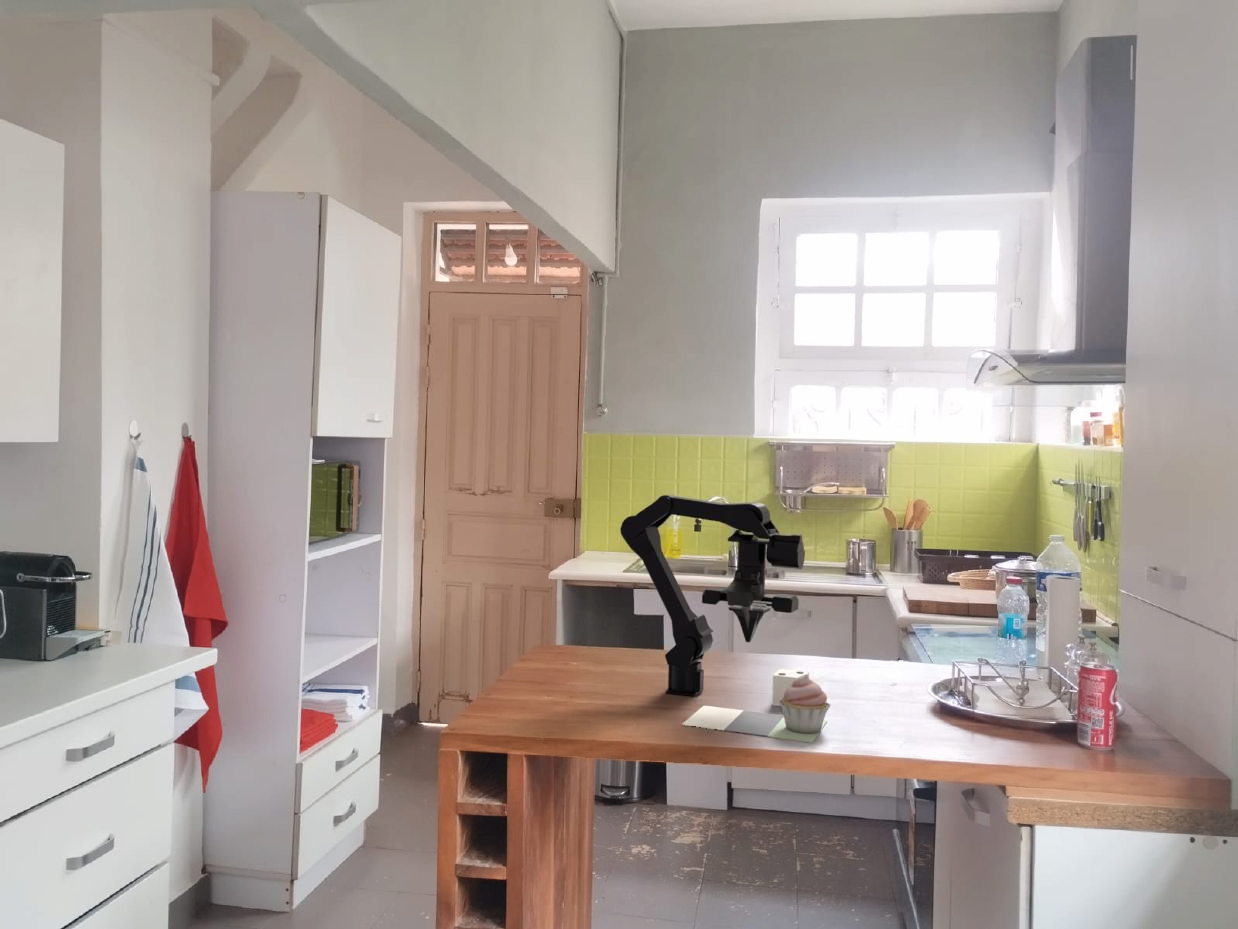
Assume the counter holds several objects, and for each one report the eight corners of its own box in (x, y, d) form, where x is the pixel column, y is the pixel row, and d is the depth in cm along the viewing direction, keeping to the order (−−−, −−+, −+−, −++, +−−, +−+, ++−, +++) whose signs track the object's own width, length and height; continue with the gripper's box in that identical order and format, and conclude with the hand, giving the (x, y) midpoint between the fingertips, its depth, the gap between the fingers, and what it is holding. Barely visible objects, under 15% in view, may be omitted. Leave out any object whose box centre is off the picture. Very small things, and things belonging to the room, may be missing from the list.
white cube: (772, 705, 194) (773, 674, 194) (778, 698, 200) (779, 668, 199) (802, 709, 192) (803, 678, 192) (808, 701, 197) (809, 671, 197)
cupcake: (831, 738, 172) (832, 682, 172) (777, 734, 174) (779, 678, 174) (829, 723, 181) (830, 670, 181) (778, 720, 183) (779, 667, 183)
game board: (681, 725, 179) (681, 724, 179) (704, 706, 192) (704, 705, 192) (812, 743, 170) (812, 741, 170) (826, 722, 183) (826, 721, 183)
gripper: (693, 565, 193) (690, 643, 194) (785, 573, 185) (782, 655, 186) (712, 559, 203) (710, 634, 204) (800, 567, 195) (797, 645, 196)
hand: (748, 642), depth 197 cm, fingers closed
